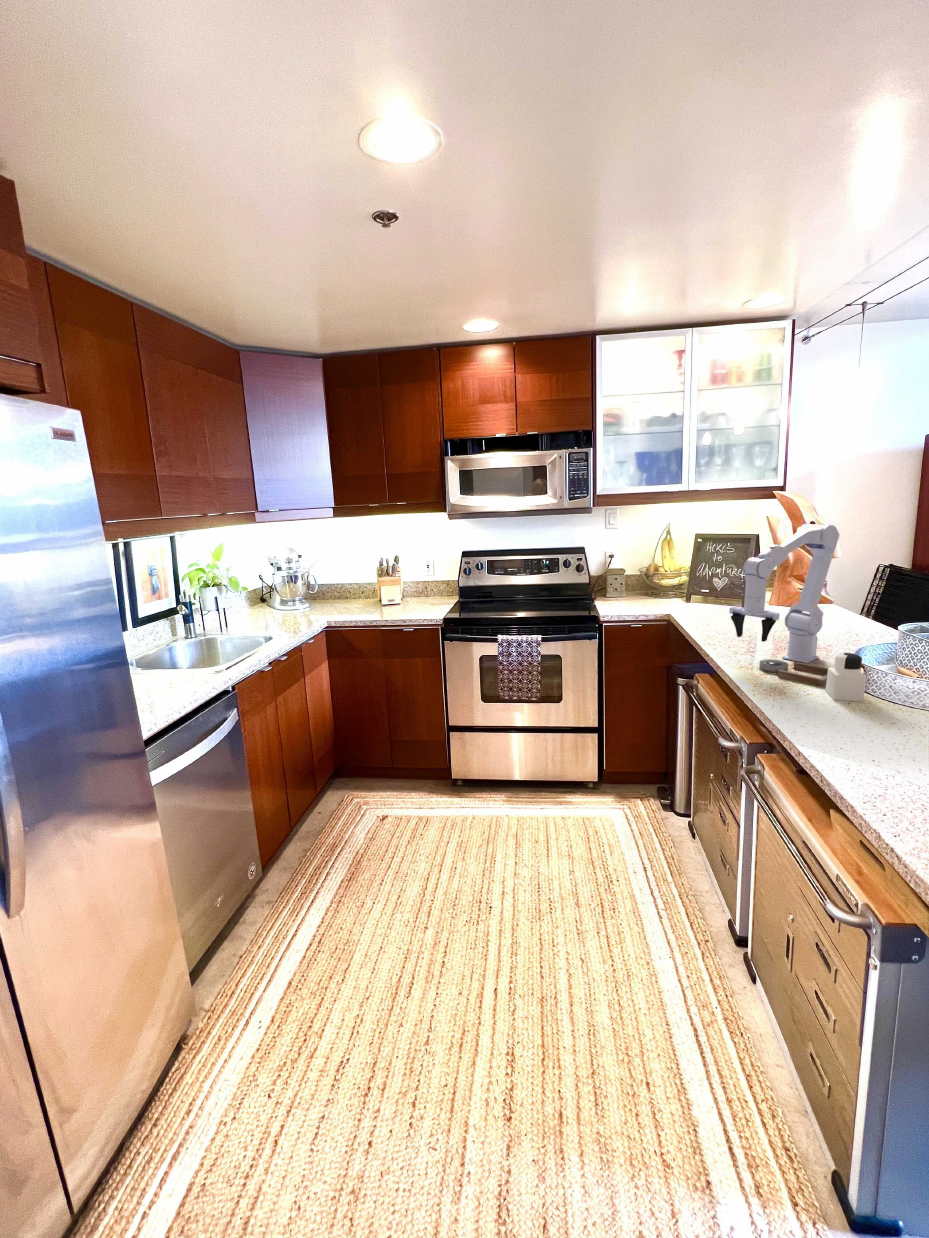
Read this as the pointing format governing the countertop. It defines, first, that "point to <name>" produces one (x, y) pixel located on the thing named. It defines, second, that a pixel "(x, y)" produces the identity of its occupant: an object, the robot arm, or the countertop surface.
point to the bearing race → (773, 666)
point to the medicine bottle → (846, 678)
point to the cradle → (805, 678)
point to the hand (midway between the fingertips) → (751, 638)
